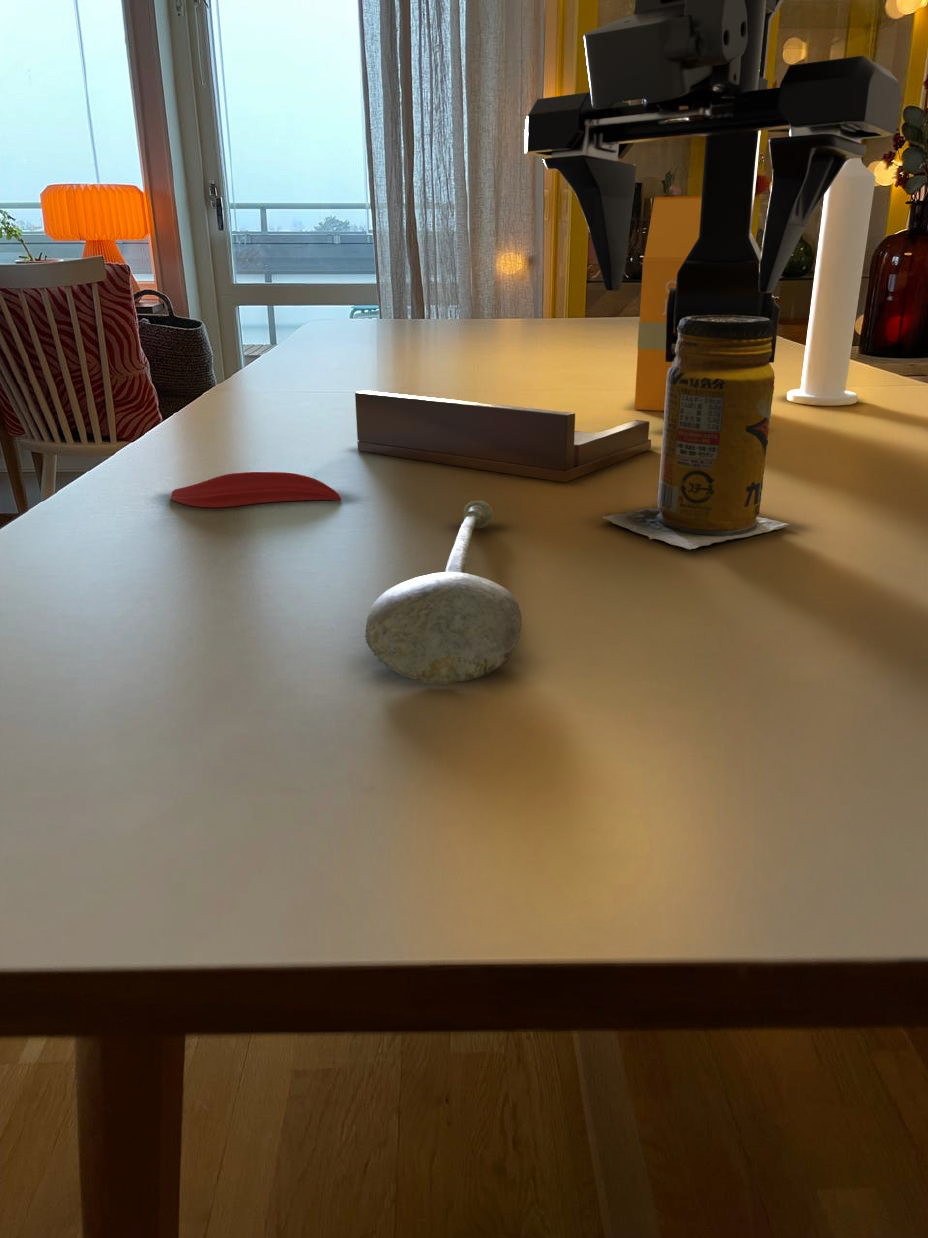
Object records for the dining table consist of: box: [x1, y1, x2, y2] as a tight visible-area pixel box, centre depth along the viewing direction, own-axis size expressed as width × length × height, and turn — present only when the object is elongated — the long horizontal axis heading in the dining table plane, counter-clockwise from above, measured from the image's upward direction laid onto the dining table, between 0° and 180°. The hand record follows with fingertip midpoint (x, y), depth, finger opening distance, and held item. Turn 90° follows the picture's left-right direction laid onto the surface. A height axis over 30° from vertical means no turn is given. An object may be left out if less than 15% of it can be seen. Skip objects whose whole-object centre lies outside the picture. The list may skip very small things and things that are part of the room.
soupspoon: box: [364, 500, 523, 685], centre depth 46 cm, size 22×3×7 cm
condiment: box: [602, 315, 790, 550], centre depth 54 cm, size 7×8×12 cm
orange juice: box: [633, 195, 702, 412], centre depth 94 cm, size 8×9×20 cm
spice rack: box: [354, 390, 652, 483], centre depth 77 cm, size 14×20×5 cm
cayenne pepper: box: [170, 471, 342, 508], centre depth 63 cm, size 12×5×2 cm, turn 79°
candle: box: [786, 158, 876, 407], centre depth 95 cm, size 7×7×25 cm
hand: (685, 291), depth 52 cm, fingers open, 9 cm apart
